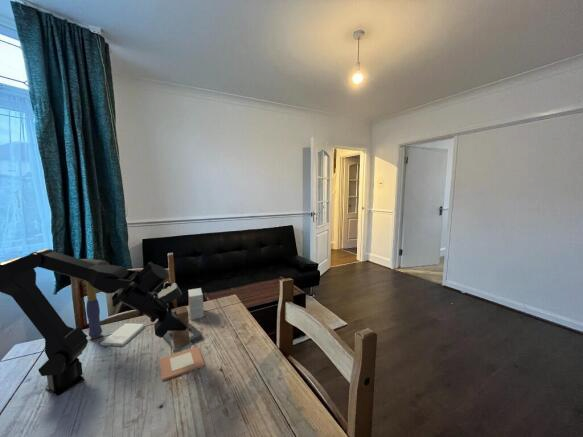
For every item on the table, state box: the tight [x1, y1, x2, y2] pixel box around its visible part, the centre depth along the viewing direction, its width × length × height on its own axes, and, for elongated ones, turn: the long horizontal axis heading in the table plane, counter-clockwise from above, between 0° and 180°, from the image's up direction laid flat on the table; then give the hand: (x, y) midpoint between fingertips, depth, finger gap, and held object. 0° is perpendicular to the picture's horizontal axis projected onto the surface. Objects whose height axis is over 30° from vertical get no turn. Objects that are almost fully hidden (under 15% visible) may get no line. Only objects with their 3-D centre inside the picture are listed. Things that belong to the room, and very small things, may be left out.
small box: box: [187, 287, 205, 320], centre depth 110 cm, size 8×6×10 cm
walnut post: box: [171, 305, 192, 354], centre depth 79 cm, size 5×5×12 cm
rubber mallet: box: [68, 258, 111, 339], centre depth 91 cm, size 12×8×30 cm, turn 80°
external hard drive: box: [100, 323, 145, 347], centre depth 95 cm, size 2×8×12 cm
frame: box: [162, 322, 203, 349], centre depth 93 cm, size 10×10×2 cm
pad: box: [159, 346, 206, 382], centre depth 80 cm, size 12×10×1 cm
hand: (184, 325), depth 80 cm, fingers closed on walnut post, 4 cm apart
